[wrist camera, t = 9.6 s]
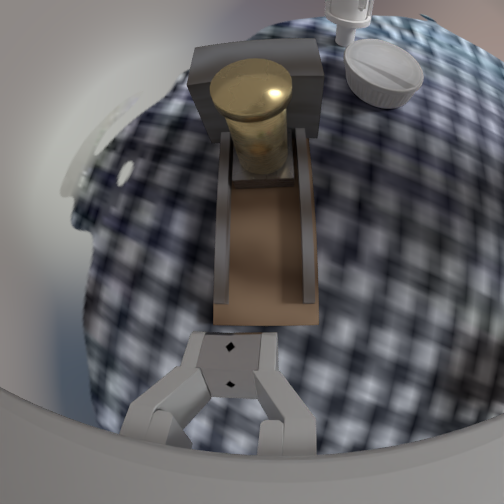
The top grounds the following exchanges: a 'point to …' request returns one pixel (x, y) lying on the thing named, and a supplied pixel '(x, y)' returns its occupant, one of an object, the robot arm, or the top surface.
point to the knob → (256, 121)
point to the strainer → (348, 17)
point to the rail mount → (265, 197)
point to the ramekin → (381, 73)
